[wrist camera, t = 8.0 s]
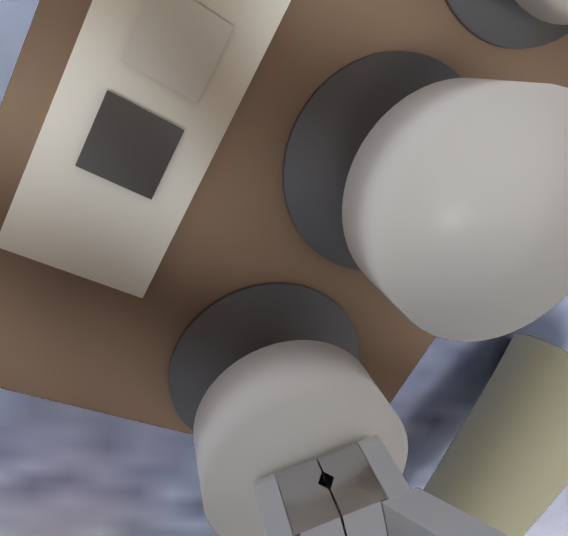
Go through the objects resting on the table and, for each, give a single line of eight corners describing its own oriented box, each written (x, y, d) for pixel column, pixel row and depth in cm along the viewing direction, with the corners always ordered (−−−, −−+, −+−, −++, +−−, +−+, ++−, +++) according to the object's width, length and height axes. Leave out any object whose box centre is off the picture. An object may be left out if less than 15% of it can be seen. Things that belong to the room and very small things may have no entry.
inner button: (316, 502, 14) (340, 564, 13) (160, 471, 12) (163, 540, 11) (405, 371, 13) (445, 419, 12) (250, 313, 11) (270, 361, 10)
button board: (317, 417, 20) (348, 482, 17) (-53, 308, 15) (-106, 377, 11) (621, -54, 16) (740, -81, 13) (253, -486, 10) (304, -734, 7)
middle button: (459, 324, 12) (513, 369, 11) (299, 250, 10) (333, 292, 8) (581, 149, 11) (664, 166, 9) (429, 26, 9) (498, 18, 7)
